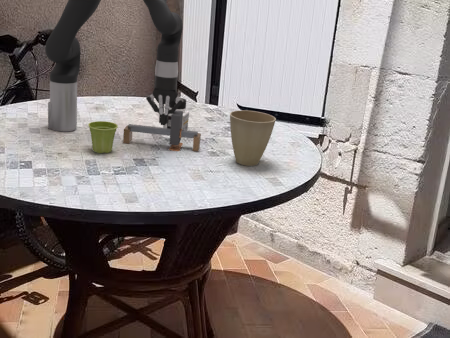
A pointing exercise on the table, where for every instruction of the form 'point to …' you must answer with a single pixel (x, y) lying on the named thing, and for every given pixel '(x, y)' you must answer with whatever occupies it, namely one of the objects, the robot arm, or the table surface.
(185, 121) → the container
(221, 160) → the table surface
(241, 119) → the plant pot
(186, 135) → the rail
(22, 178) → the table surface
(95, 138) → the plant pot
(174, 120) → the collar
